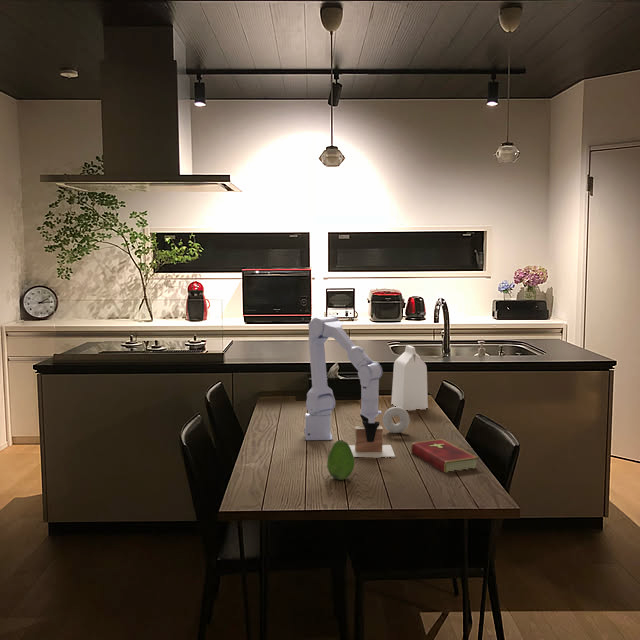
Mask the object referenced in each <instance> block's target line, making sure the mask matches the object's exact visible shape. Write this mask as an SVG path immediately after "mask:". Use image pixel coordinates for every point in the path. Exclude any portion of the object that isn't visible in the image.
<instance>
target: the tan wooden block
mask: <svg viewBox="0 0 640 640" xmlns="http://www.w3.org/2000/svg"><path fill="white" fill-rule="evenodd" d="M383 431H384V430H383V426H382V425H379V426H378V428H377V430H376V434H375V439H374V442H367V438H366V431H365V427H364V425H355V426H354V445H355V451H356V452H382V447H383V445H384V444H383V441H384V439H383V438H384V437H383V435H384V432H383Z"/></svg>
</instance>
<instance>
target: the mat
mask: <svg viewBox="0 0 640 640" xmlns="http://www.w3.org/2000/svg"><path fill="white" fill-rule="evenodd" d="M348 445H349V447H350V449H351V451H352V454H353V457H375V458H374V459H382V458H381V457H385V458H387V457H388V458H387V459H389V457H391V458H393V459H395V458H396V455H395V454H396V453H395V452H394V450H393V447H392V445H391V444H383V447H382V452H356V451H355V444H348ZM391 458H390V459H391Z"/></svg>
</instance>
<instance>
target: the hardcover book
mask: <svg viewBox="0 0 640 640" xmlns="http://www.w3.org/2000/svg"><path fill="white" fill-rule="evenodd" d="M410 451H411V454H413V455H415V456H416V457H418V458H419V457H420V460H423V461H424V462H426V463H427V464H429V463H430V465H432V466H433V467H434V468H436V469H438V470H439V469H440V470H439V471H441V472H443V473H444V472H446V473H449V472H448V471H453V472H455V471H454V470H459V471H462V470H461V469H466V470H469V469H468V468H473V469H476V468H477V460H478V459H479V457H478V456H476V455H474V454H472V453H470V452H468V451H466V450H464V449H463V448H460V447H458V445H457V446H456V445H455V444H452V443H451V442H449V441H447V440H445V439H442V438H440V439H431V440H424V441H416V442H412V443H411V447H410ZM475 467H476V468H475Z"/></svg>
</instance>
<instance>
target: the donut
mask: <svg viewBox="0 0 640 640" xmlns="http://www.w3.org/2000/svg"><path fill="white" fill-rule="evenodd" d="M382 416H383V417H382V424H383V427H384V428H385V430H387V431H388V432H389V433H391V434H392V433H393V434H398V433H402V432H404V431H406V429H407V428H408V427H409V425H410V421H411V419H410V415H409V413H408V411H406V410H405V409H403V408H401V407H395V406H392V407H390V408H388V409H386V410H385V412H384V414H383V415H382ZM394 417H399V418H400V421H399V422H398V423H394V422H393V418H394Z"/></svg>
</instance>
